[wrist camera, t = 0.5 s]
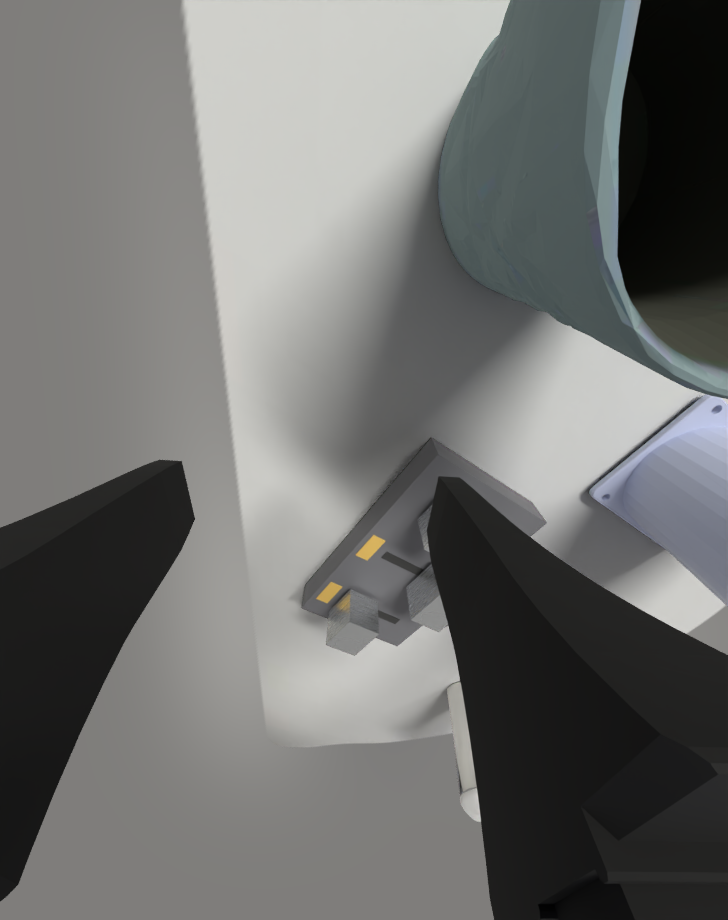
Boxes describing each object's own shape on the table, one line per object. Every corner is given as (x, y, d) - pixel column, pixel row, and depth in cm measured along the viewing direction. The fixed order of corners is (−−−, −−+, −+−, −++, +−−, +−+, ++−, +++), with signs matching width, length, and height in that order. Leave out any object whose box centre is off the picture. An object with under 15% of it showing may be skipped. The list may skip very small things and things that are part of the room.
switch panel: (532, 502, 22) (547, 523, 20) (394, 622, 28) (397, 646, 26) (431, 437, 19) (438, 454, 18) (305, 585, 26) (301, 608, 24)
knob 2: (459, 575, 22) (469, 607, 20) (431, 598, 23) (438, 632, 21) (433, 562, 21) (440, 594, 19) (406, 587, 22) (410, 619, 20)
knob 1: (377, 600, 23) (379, 634, 21) (355, 622, 24) (354, 655, 22) (350, 589, 22) (349, 622, 20) (329, 611, 24) (325, 645, 22)
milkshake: (500, 679, 33) (550, 828, 24) (468, 704, 35) (503, 848, 26) (461, 668, 32) (499, 820, 23) (431, 695, 34) (455, 841, 25)
